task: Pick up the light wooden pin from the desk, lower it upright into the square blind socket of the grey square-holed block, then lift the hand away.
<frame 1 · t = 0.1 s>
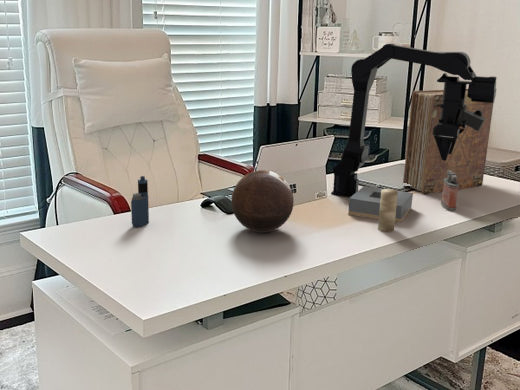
hand: (446, 157, 169), 15 cm above the table, tool pointing down, fingers open, 9 cm apart
vaping device: (140, 225, 152), on the table
book: (442, 187, 195), on the table
wooden sphere: (261, 231, 151), on the table
grey square-holed block: (380, 211, 168), on the table
wooden pin: (386, 229, 154), on the table
lighter: (448, 207, 174), on the table
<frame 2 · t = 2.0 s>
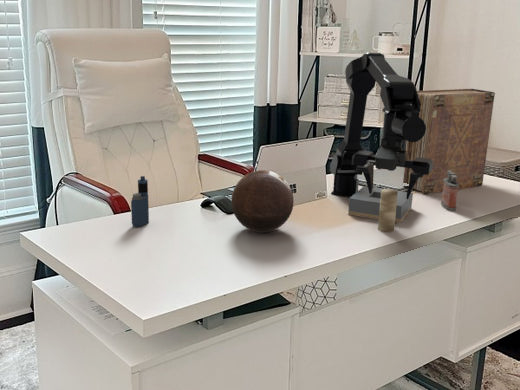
hand: (388, 196, 152), 9 cm above the table, tool pointing down, fingers open, 9 cm apart
nothing on the table moved.
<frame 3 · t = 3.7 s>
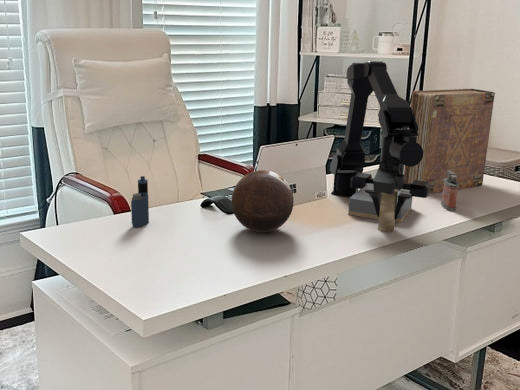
hand: (387, 217, 153), 3 cm above the table, tool pointing down, fingers closed on wooden pin, 4 cm apart
wooden pin: (386, 229, 154), on the table, touching gripper
everything else where it was.
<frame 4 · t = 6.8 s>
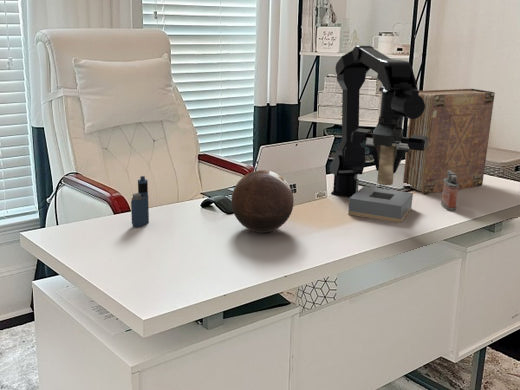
hand: (386, 171, 159), 13 cm above the table, tool pointing down, fingers closed on wooden pin, 4 cm apart
wooden pin: (384, 183, 160), point 10 cm above the table, touching gripper
everything else where it was.
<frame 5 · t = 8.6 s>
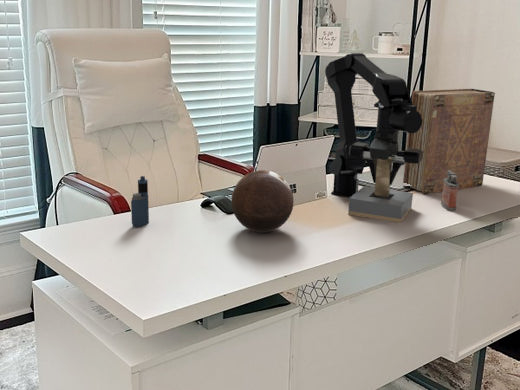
hand: (382, 183, 166), 8 cm above the table, tool pointing down, fingers closed on wooden pin, 4 cm apart
wooden pin: (381, 194, 167), point 5 cm above the table, touching gripper
everything else where it was.
when the fingers open (5 cm above the table, at t = 9.9 s): wooden pin drops 1 cm, resting on grey square-holed block.
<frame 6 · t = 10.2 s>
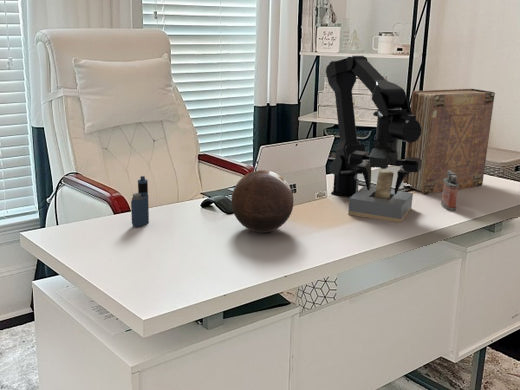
hand: (382, 192, 167), 5 cm above the table, tool pointing down, fingers open, 7 cm apart
wooden pin: (380, 207, 168), point 1 cm above the table, touching grey square-holed block
everything else where it was.
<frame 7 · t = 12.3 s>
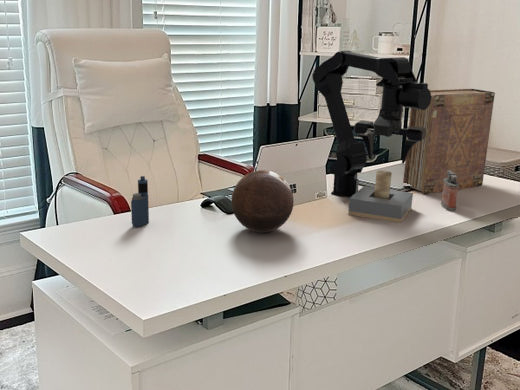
hand: (386, 161, 170), 13 cm above the table, tool pointing down, fingers open, 9 cm apart
nothing on the table moved.
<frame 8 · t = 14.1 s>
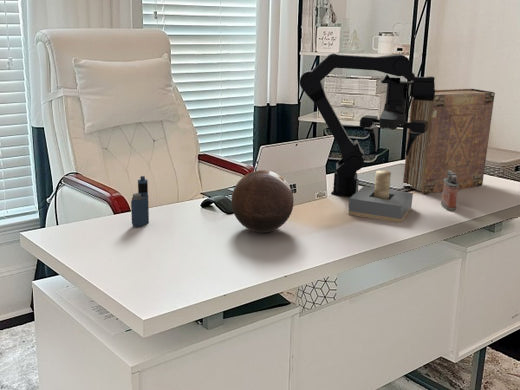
hand: (391, 153, 179), 13 cm above the table, tool pointing down, fingers open, 9 cm apart
nothing on the table moved.
at the end: wooden pin 0.0 cm off-centre on the grey square-holed block, point 1.0 cm above the grey square-holed block's base; wooden pin tilted 1°; the gripper is holding nothing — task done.
